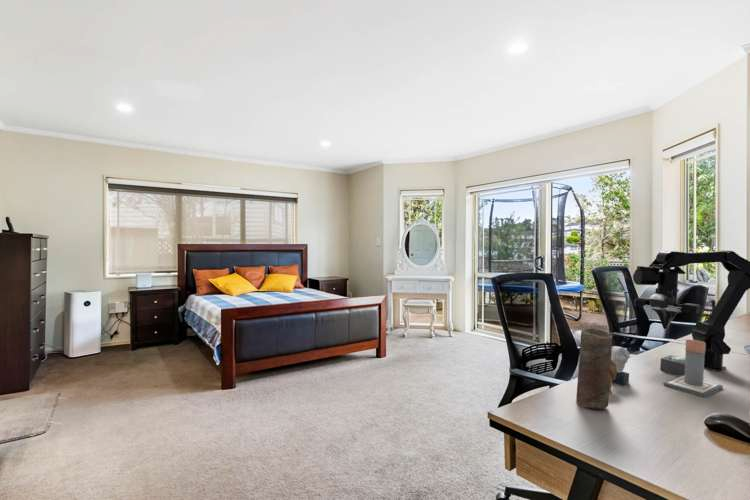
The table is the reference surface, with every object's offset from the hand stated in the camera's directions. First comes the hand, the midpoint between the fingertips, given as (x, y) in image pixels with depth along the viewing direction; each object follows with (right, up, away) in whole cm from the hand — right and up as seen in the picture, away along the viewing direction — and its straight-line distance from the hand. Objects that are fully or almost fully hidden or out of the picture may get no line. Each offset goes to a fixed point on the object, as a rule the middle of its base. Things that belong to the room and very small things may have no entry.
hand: (665, 328), depth 136 cm
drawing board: (-7, -14, -20) cm, 26 cm away
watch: (-29, -13, -18) cm, 36 cm away
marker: (-7, -13, -21) cm, 25 cm away
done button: (0, -12, -7) cm, 14 cm away
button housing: (-1, -13, -7) cm, 15 cm away
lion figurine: (-40, -13, -26) cm, 49 cm away
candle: (-47, -13, -36) cm, 61 cm away
